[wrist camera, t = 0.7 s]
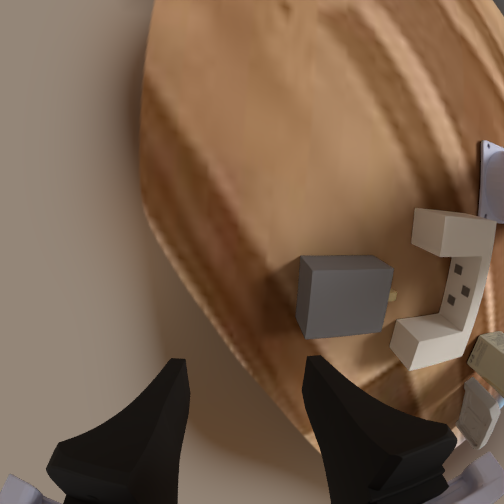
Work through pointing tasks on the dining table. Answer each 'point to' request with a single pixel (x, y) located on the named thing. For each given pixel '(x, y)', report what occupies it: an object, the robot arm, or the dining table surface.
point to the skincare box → (489, 359)
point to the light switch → (477, 414)
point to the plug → (342, 295)
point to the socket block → (447, 287)
